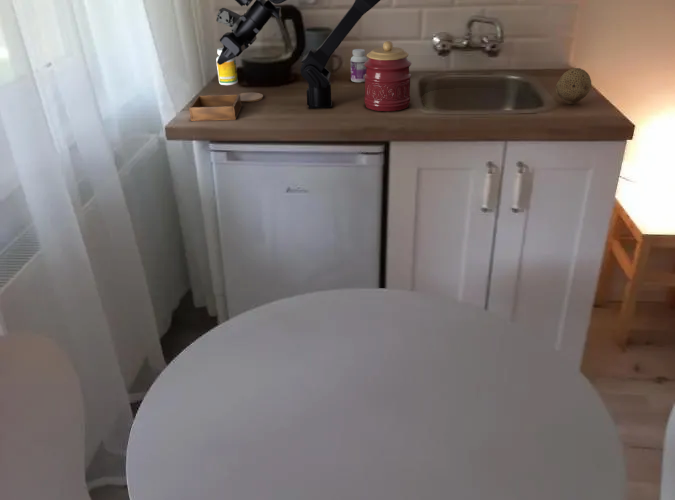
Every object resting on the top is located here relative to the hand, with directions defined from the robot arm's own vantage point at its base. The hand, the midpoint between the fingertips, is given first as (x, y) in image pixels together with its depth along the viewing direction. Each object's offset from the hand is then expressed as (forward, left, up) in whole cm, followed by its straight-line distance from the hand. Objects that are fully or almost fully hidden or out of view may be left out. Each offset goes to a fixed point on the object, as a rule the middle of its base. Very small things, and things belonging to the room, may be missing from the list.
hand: (221, 61), depth 176 cm
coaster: (-5, -7, -13) cm, 16 cm away
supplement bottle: (-1, 0, -6) cm, 7 cm away
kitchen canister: (-46, +5, -13) cm, 48 cm away
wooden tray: (+2, +8, -13) cm, 15 cm away
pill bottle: (-39, -24, -13) cm, 48 cm away
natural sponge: (-97, +9, -13) cm, 98 cm away
